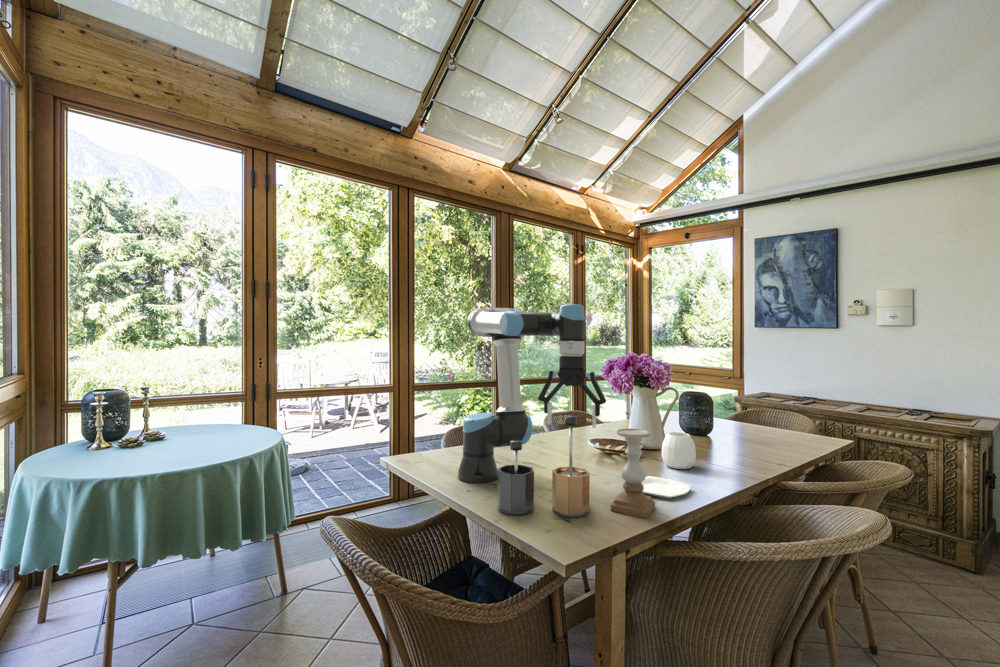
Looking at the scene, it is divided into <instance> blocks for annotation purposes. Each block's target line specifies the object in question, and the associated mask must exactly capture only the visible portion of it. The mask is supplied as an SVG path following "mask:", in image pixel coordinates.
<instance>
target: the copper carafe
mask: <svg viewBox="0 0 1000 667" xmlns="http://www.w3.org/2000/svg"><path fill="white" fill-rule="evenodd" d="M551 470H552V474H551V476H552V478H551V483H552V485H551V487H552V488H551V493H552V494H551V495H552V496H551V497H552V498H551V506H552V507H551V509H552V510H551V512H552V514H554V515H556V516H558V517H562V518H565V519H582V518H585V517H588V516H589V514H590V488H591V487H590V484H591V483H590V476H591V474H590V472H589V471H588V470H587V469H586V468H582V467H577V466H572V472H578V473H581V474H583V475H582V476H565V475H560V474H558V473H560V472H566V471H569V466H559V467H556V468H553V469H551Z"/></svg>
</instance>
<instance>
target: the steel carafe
mask: <svg viewBox="0 0 1000 667" xmlns="http://www.w3.org/2000/svg"><path fill="white" fill-rule="evenodd" d="M497 469H498V478H497V479H498V482H497V484H498V485H497V487H498V488H497V490H498V491H497V496H498V497H497V511H498V512H499V513H500V514H504V515H505V516H506V515H507V516H511V517H512V516H514V517H521V516H526V515H530V514H532V513H533V512H534V508H535V507H534V506H535V501H534V500H535V499H534V498H535V497H534V496H535V471H534V468H533V467H531V466H527V465H522V464H518V472H517V474H515V464H507V465H503V466H499V467H497Z"/></svg>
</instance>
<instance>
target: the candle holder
mask: <svg viewBox="0 0 1000 667" xmlns="http://www.w3.org/2000/svg"><path fill="white" fill-rule="evenodd" d="M616 434H617V436H621V437H622V438H623V437H624V439H625V441H626V443H627V447H626V449H625V450H624V454H626V457H627V462H626V463H625V465H624V466H623V468H622V470H621V472H620V476H621V478H622V480H624V481H625V482H624V483H623V484H622V487H623V490H624V491H622V492H620V493H618V495H617V496H616V497H615V498H614V500H613V502H612V503H611V504H610V511H611V512H614V513H618V514H622V515H627V516H633V517H637V518H641V517H642V518H643V519H647V518H648V517H650V515H651V514H652V513H653V511H654V510H655V509H656V502H655V500H653V496H651V495H647V494H645V493H642V491H643V489H644V487H643V485H642V484H641V482H643V481H644V480H645V478H646V477H647V476H646V471H645V470H644V467H642V465H641V462H640V458H641V456H642V455H643V451H642V450H641V447H640V446H641V443H642V442H643V440H644V439H646V438H650V437H651V436H652V433H651V431H649V430H645V429H642V428H641V429H640V428H620V429H617V430H616ZM654 508H655V509H654ZM651 512H652V513H651Z"/></svg>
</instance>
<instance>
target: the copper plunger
mask: <svg viewBox="0 0 1000 667" xmlns="http://www.w3.org/2000/svg"><path fill="white" fill-rule="evenodd" d="M564 418H565V420H564V424H565V426H569V460H568V461H569V464H568V467H569V471H566V472H560V473H558V474H560V475H565V476H582V475H583V474H581V473H578V472H572V467H573V444H574V443H573V439H574V438H573V436H574V435H573V434H574V433H573V432H574V431H573V428H574V427H573V426H577V425H578V416H577V415H565V416H564Z"/></svg>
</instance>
